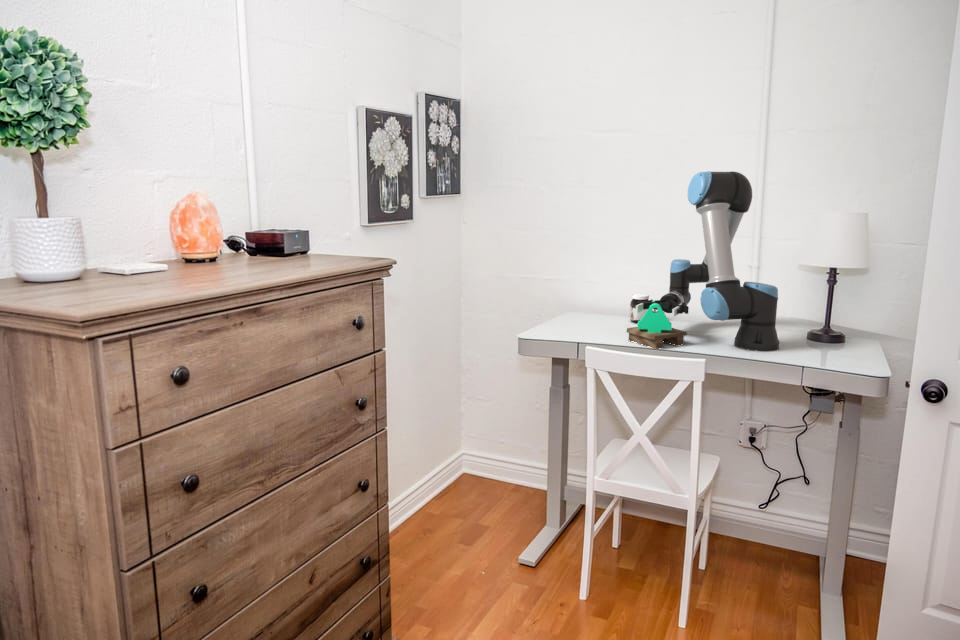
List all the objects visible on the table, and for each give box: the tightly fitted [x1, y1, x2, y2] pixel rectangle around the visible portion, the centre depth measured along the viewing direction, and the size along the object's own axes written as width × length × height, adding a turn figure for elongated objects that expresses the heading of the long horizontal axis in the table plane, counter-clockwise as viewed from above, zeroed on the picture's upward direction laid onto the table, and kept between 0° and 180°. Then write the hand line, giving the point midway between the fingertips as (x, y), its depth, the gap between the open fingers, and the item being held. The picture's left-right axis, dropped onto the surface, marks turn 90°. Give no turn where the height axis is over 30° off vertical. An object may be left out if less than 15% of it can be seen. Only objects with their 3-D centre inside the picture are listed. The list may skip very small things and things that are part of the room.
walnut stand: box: [626, 326, 687, 350], centre depth 255 cm, size 15×15×5 cm
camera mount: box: [637, 303, 673, 333], centre depth 253 cm, size 12×8×10 cm, turn 76°
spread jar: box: [629, 293, 657, 324], centre depth 291 cm, size 12×11×12 cm
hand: (654, 311), depth 251 cm, fingers open, 13 cm apart
